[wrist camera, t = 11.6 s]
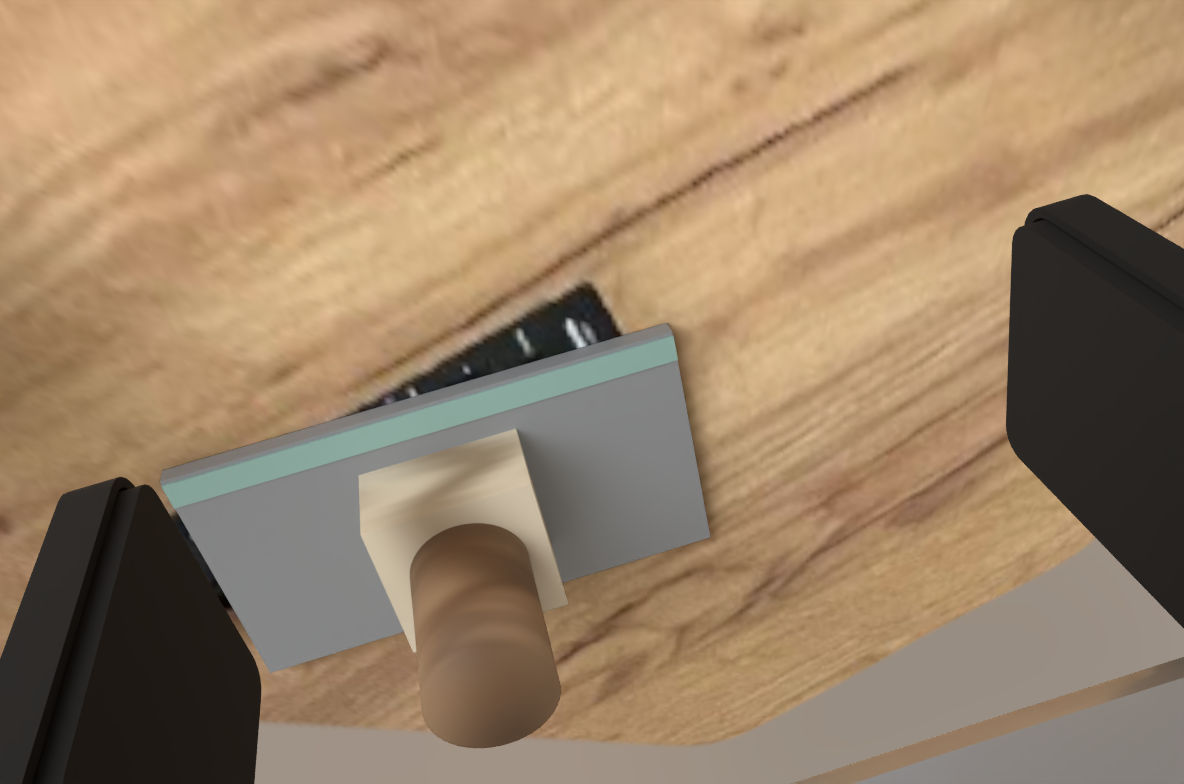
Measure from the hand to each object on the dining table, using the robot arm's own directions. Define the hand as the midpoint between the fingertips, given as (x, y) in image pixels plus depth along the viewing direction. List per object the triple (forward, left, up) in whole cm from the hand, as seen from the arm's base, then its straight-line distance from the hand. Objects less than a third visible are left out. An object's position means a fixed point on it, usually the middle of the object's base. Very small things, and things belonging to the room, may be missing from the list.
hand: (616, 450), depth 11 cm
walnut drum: (+5, +22, -24) cm, 33 cm away
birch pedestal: (+5, +22, -28) cm, 36 cm away
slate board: (+5, +22, -28) cm, 36 cm away
